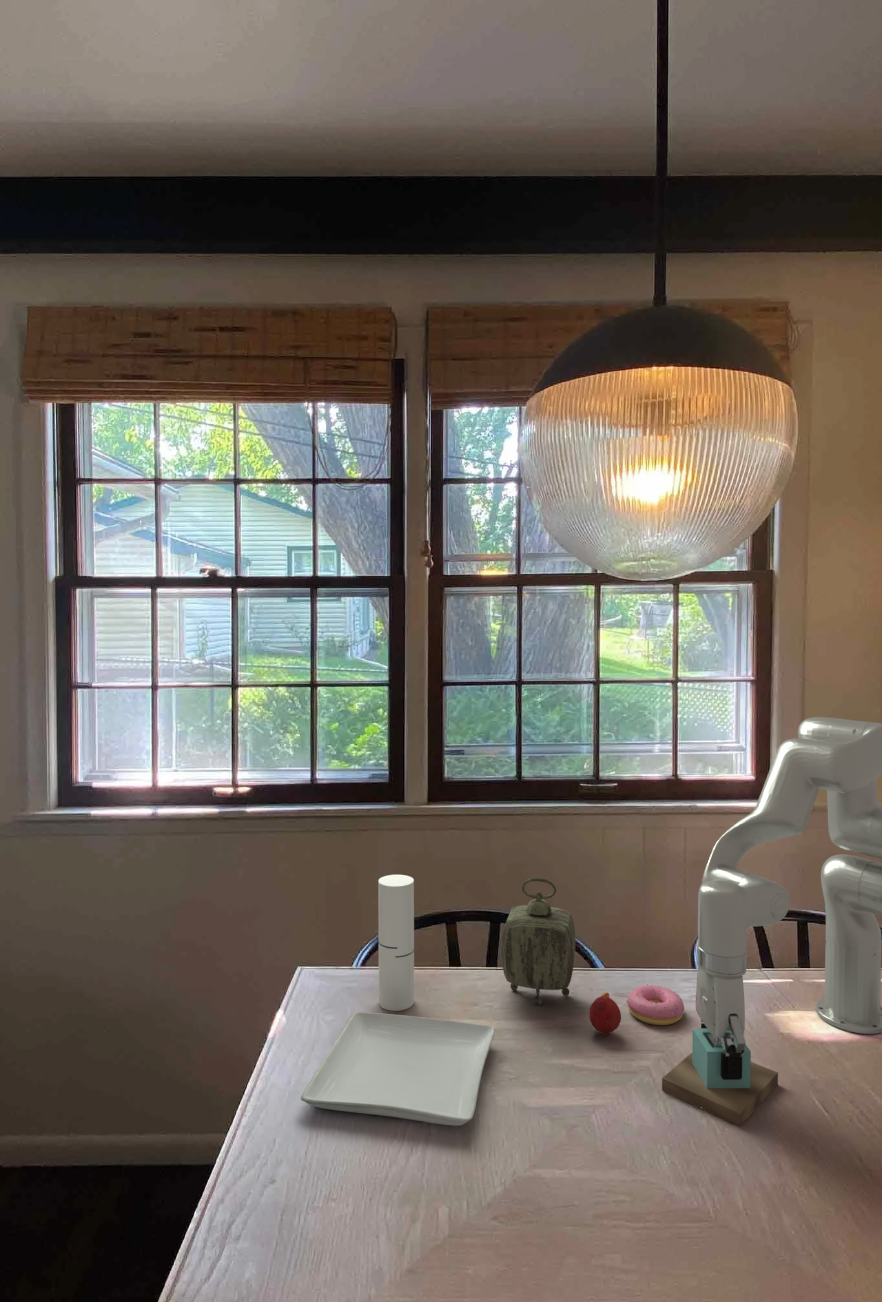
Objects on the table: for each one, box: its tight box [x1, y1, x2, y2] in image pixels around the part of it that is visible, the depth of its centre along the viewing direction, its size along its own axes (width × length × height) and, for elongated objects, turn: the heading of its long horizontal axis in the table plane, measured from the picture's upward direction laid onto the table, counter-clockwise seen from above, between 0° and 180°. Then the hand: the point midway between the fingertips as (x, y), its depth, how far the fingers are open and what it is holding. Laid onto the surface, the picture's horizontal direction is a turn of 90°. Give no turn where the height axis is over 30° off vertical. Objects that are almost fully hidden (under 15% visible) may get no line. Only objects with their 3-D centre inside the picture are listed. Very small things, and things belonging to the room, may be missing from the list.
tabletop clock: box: [500, 877, 577, 1006], centre depth 155 cm, size 14×9×25 cm, turn 77°
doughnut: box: [626, 984, 685, 1026], centre depth 149 cm, size 11×11×4 cm
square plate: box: [300, 1011, 496, 1127], centre depth 129 cm, size 27×27×4 cm
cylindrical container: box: [377, 874, 415, 1012], centre depth 154 cm, size 7×7×25 cm
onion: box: [588, 991, 622, 1036], centre depth 141 cm, size 6×6×8 cm
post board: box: [661, 1034, 779, 1127], centre depth 125 cm, size 15×13×8 cm
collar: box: [691, 1028, 752, 1088], centre depth 125 cm, size 7×7×6 cm
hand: (720, 1062), depth 125 cm, fingers open, 8 cm apart
